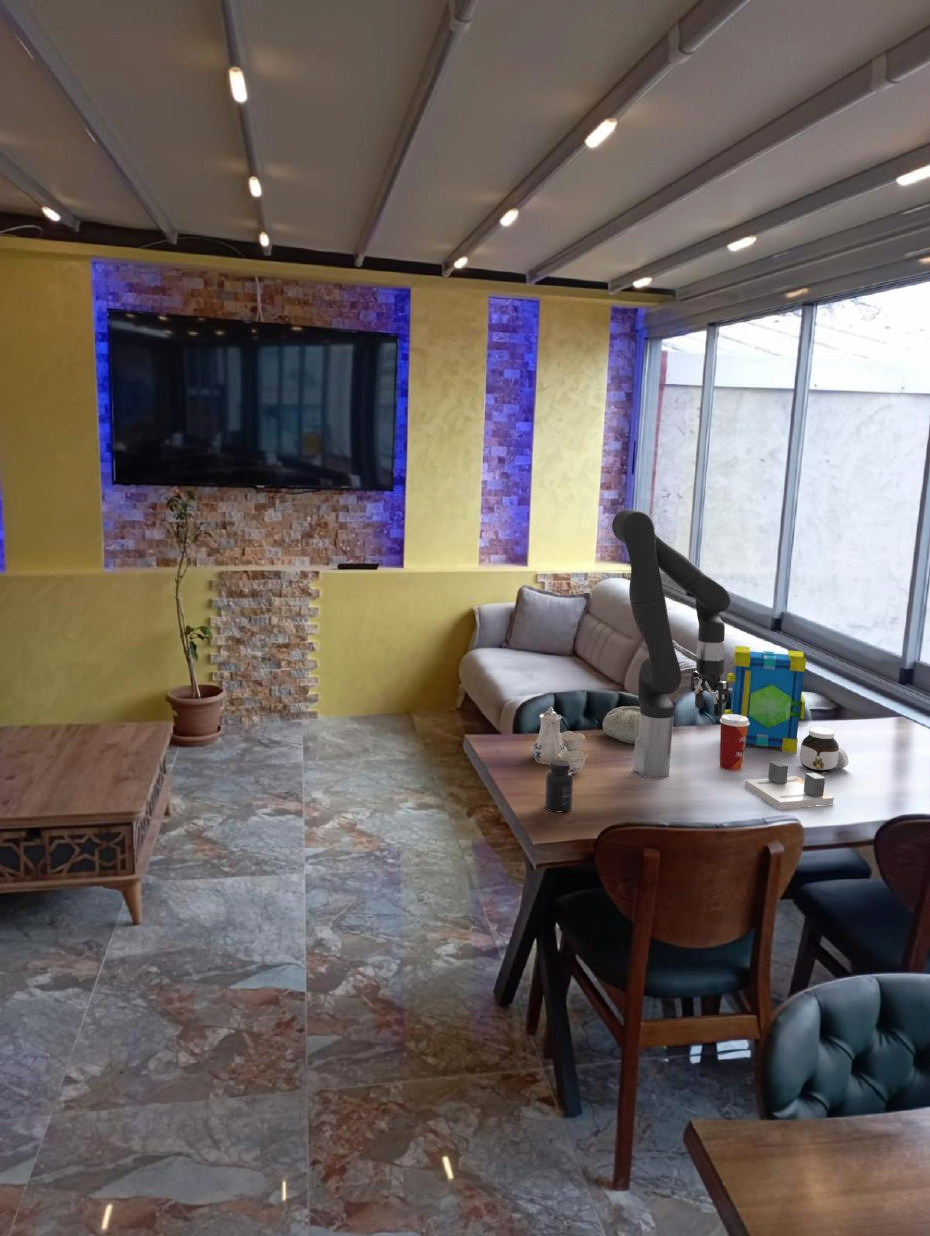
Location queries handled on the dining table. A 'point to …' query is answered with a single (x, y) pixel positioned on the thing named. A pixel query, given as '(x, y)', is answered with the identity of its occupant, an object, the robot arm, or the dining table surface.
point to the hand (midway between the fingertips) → (708, 711)
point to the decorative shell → (623, 723)
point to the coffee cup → (732, 741)
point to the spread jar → (822, 751)
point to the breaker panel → (786, 793)
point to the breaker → (814, 784)
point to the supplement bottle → (559, 786)
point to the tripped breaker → (778, 772)
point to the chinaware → (558, 743)
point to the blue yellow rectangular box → (769, 696)
